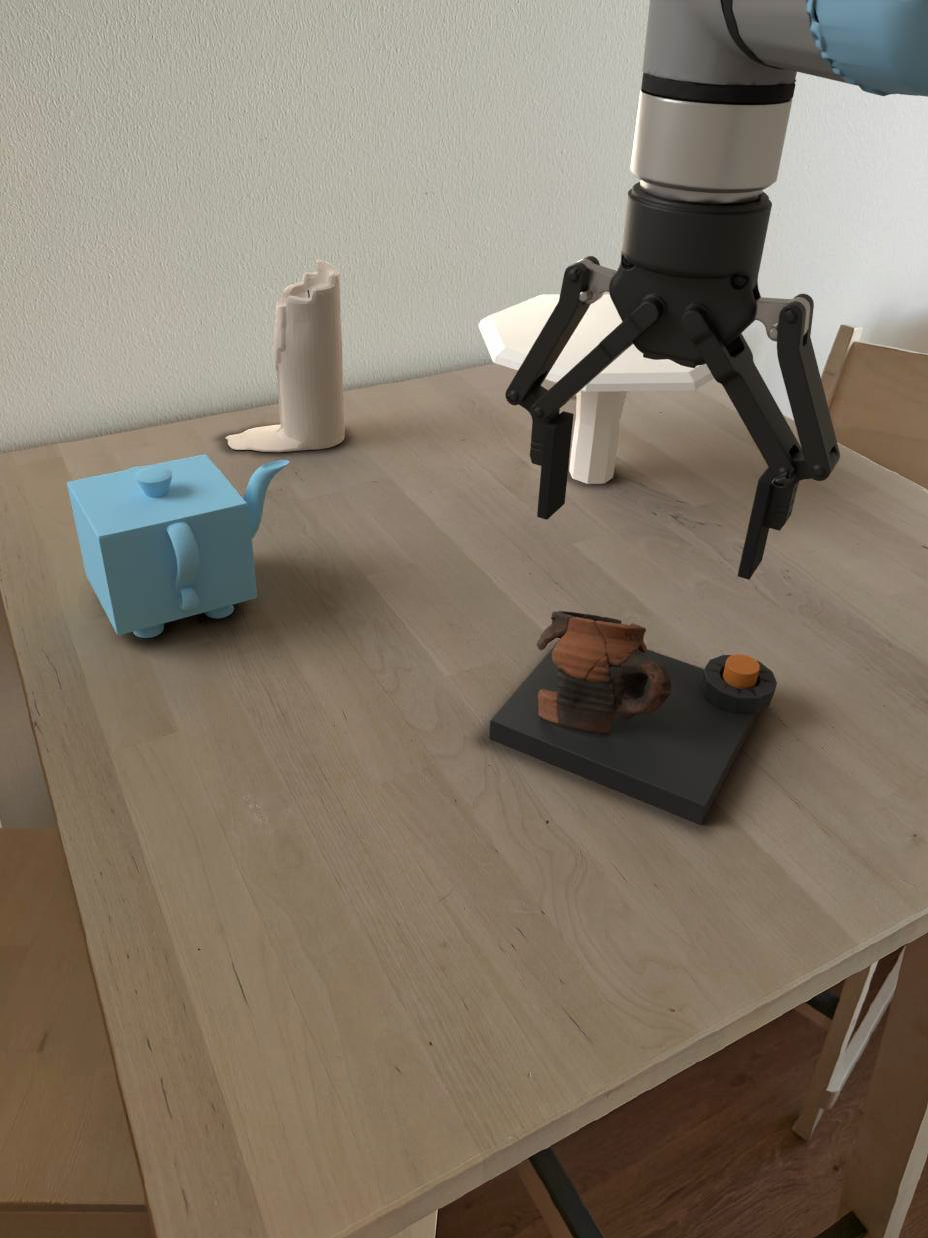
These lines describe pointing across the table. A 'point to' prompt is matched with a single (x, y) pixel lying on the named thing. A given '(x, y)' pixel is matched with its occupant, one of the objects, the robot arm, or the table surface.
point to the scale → (647, 735)
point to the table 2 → (600, 397)
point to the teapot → (169, 540)
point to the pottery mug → (599, 672)
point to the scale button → (741, 671)
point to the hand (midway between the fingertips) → (646, 538)
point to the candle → (305, 368)
